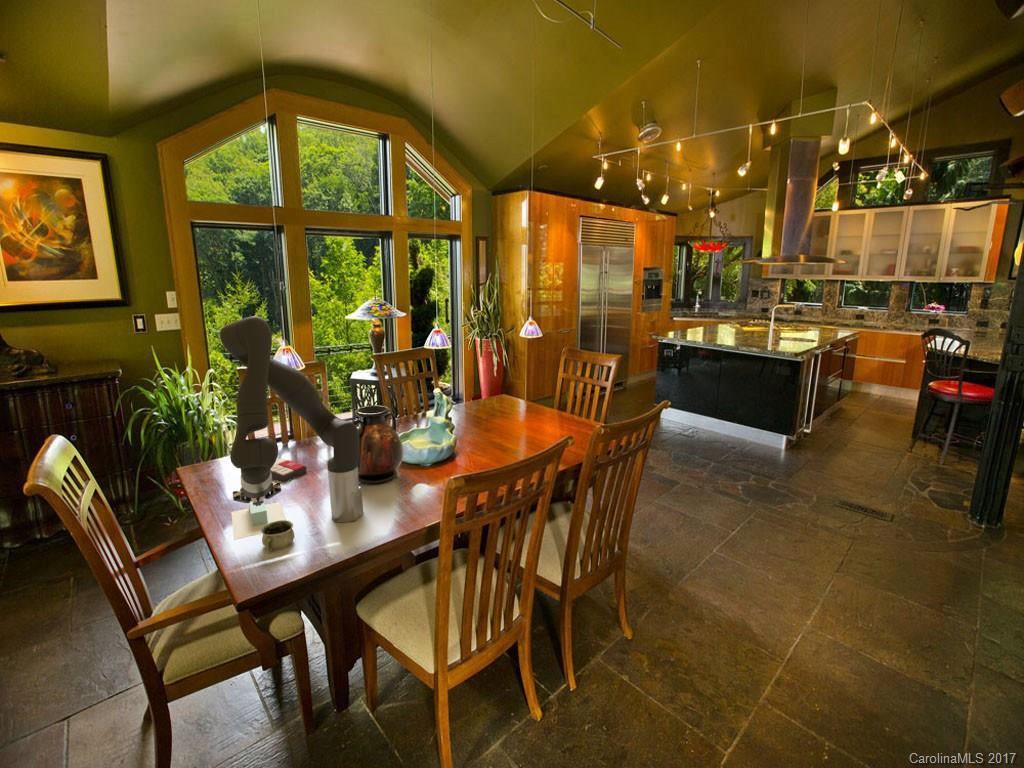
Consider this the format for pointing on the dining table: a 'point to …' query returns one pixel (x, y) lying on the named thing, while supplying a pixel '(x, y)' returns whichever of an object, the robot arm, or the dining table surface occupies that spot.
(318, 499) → the dining table surface
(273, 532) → the vessel
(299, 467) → the calculator
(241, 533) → the mat
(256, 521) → the block
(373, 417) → the amphora vase
